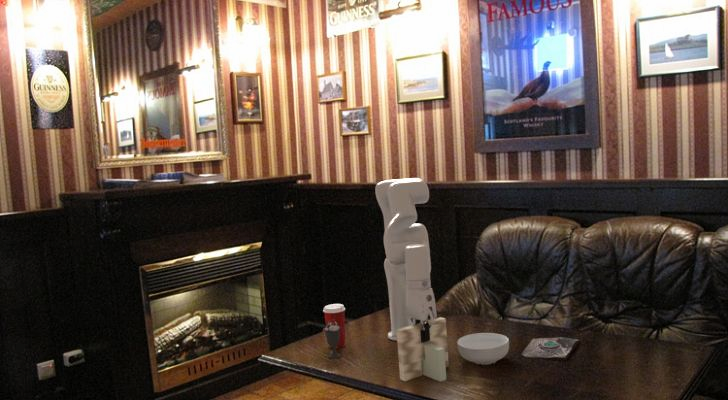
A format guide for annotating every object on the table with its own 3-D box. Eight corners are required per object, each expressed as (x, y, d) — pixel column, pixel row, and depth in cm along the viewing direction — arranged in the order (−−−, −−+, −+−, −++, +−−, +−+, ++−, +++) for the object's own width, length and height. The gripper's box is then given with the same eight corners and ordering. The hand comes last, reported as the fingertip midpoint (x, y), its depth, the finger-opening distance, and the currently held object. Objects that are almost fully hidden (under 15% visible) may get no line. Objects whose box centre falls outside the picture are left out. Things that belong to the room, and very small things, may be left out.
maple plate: (444, 364, 215) (440, 317, 214) (448, 366, 213) (445, 318, 212) (400, 379, 206) (396, 329, 204) (404, 381, 204) (400, 331, 202)
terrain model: (536, 339, 236) (536, 331, 235) (579, 344, 228) (579, 335, 228) (519, 358, 218) (518, 348, 218) (565, 363, 211) (564, 353, 210)
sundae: (341, 359, 229) (338, 317, 228) (323, 359, 230) (319, 317, 229) (346, 353, 235) (342, 312, 234) (328, 353, 237) (324, 312, 235)
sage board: (410, 365, 218) (408, 336, 217) (446, 379, 203) (444, 348, 202) (405, 367, 216) (402, 337, 215) (440, 381, 201) (438, 350, 200)
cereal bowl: (478, 349, 229) (477, 329, 228) (520, 358, 217) (518, 337, 216) (448, 363, 217) (446, 342, 216) (490, 373, 205) (489, 351, 204)
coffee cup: (351, 342, 248) (348, 303, 246) (343, 349, 240) (340, 309, 238) (330, 341, 250) (327, 303, 249) (322, 348, 243) (319, 309, 241)
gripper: (444, 285, 202) (448, 343, 204) (412, 278, 216) (416, 332, 217) (425, 289, 198) (429, 349, 200) (393, 282, 211) (398, 337, 213)
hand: (422, 339), depth 208 cm, fingers closed on maple plate, 2 cm apart
